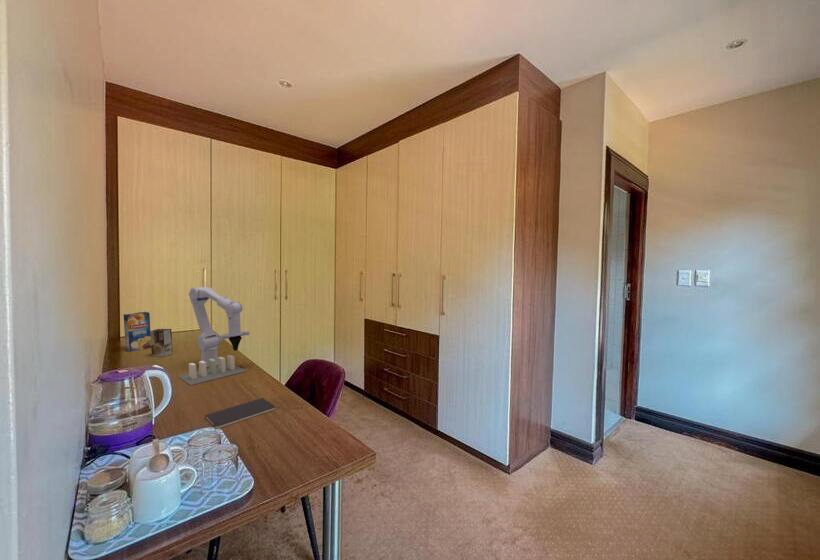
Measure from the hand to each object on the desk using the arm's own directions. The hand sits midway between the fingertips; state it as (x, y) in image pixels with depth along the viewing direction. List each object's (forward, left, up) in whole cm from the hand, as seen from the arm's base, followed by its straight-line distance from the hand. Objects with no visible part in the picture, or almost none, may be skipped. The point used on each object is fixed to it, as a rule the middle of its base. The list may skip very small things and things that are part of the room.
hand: (235, 350), depth 182 cm
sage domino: (0, -12, -10) cm, 15 cm away
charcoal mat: (0, -12, -10) cm, 15 cm away
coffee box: (-63, -19, -10) cm, 67 cm away
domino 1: (0, -21, -10) cm, 23 cm away
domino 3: (0, -7, -10) cm, 12 cm away
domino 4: (0, -3, -10) cm, 10 cm away
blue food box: (-94, -25, -10) cm, 98 cm away
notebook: (+58, -22, -11) cm, 63 cm away
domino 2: (0, -16, -10) cm, 19 cm away
